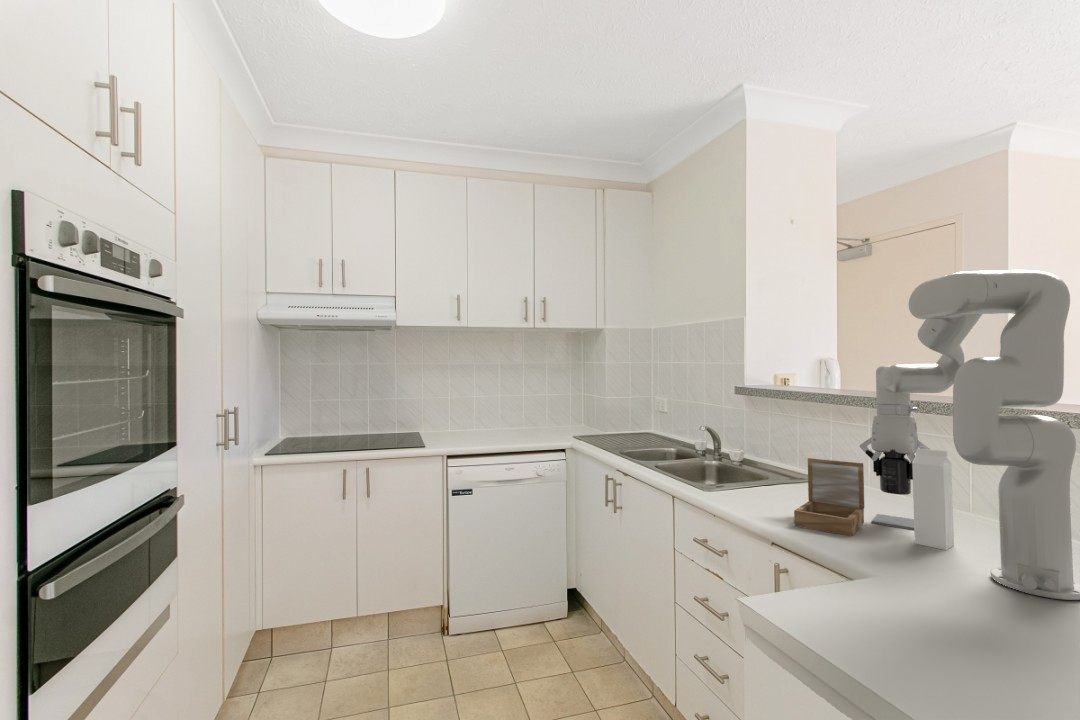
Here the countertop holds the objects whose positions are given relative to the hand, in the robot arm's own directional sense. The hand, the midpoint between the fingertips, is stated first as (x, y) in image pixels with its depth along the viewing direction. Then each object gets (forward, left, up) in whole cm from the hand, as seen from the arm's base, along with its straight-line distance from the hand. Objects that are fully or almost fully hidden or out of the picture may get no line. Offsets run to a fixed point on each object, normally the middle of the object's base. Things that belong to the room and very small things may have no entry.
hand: (894, 476), depth 135 cm
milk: (-16, -9, -13) cm, 22 cm away
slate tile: (0, 0, -12) cm, 12 cm away
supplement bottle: (0, 0, -5) cm, 5 cm away
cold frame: (-14, +13, -12) cm, 23 cm away
